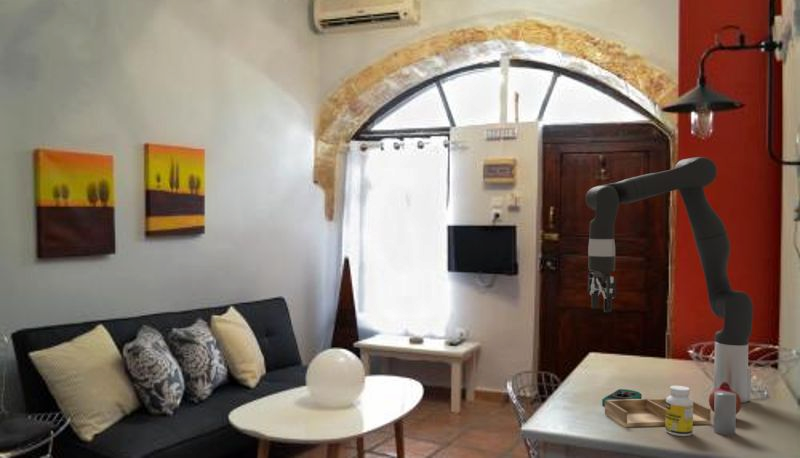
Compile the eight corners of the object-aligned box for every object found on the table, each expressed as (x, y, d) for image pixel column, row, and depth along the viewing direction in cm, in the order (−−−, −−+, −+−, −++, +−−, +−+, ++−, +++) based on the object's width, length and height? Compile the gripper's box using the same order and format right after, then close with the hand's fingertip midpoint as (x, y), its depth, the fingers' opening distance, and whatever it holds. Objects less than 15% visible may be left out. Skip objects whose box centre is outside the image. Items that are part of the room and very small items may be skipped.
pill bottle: (660, 429, 176) (661, 384, 176) (684, 428, 176) (685, 384, 176) (672, 437, 169) (673, 391, 169) (697, 436, 170) (698, 390, 170)
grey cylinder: (727, 429, 176) (728, 391, 176) (739, 435, 172) (740, 396, 171) (709, 429, 176) (710, 391, 176) (721, 436, 171) (722, 396, 171)
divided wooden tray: (686, 411, 192) (686, 397, 192) (710, 423, 181) (710, 409, 181) (604, 414, 189) (605, 400, 189) (624, 427, 177) (624, 411, 177)
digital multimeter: (642, 400, 205) (642, 391, 205) (626, 411, 193) (626, 401, 193) (618, 397, 210) (618, 387, 210) (601, 407, 198) (601, 397, 198)
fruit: (702, 416, 187) (703, 380, 187) (717, 412, 192) (718, 377, 192) (731, 424, 181) (732, 386, 181) (746, 419, 186) (747, 382, 186)
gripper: (625, 255, 191) (624, 313, 191) (603, 253, 205) (603, 306, 205) (599, 256, 190) (599, 313, 190) (579, 253, 204) (579, 307, 204)
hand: (601, 310), depth 198 cm, fingers open, 8 cm apart
